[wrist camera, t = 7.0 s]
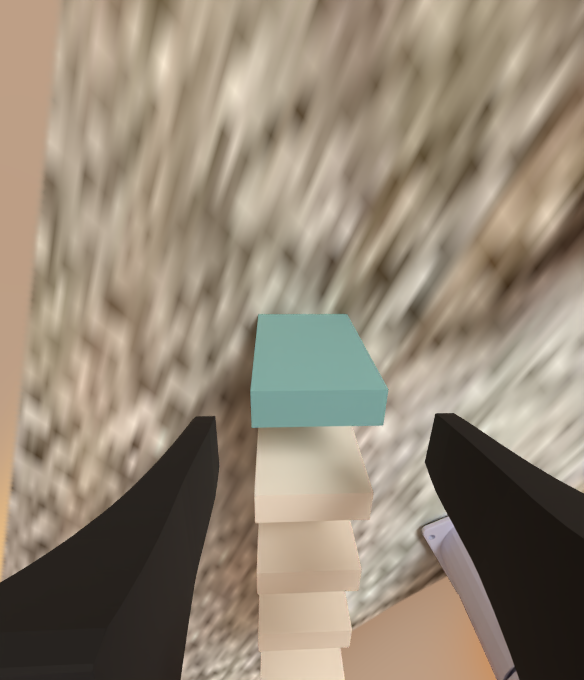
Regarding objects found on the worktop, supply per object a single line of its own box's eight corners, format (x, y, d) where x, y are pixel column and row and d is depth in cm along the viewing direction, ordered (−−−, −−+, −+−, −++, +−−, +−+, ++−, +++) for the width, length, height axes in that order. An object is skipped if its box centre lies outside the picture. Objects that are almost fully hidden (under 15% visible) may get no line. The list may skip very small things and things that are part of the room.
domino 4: (325, 565, 29) (343, 693, 22) (263, 567, 29) (260, 698, 22) (326, 552, 29) (345, 680, 21) (263, 554, 28) (260, 684, 21)
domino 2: (333, 471, 25) (358, 590, 18) (261, 472, 25) (257, 594, 18) (334, 453, 24) (361, 569, 17) (261, 454, 24) (256, 573, 17)
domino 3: (328, 521, 27) (349, 647, 20) (262, 523, 27) (258, 651, 20) (330, 506, 27) (352, 630, 19) (262, 508, 26) (258, 634, 19)
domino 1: (338, 412, 23) (369, 519, 16) (260, 413, 23) (255, 522, 16) (340, 390, 22) (373, 492, 15) (260, 391, 22) (254, 495, 15)
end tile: (344, 340, 21) (383, 425, 14) (258, 340, 21) (251, 427, 13) (346, 314, 20) (388, 389, 13) (258, 314, 20) (250, 391, 13)
